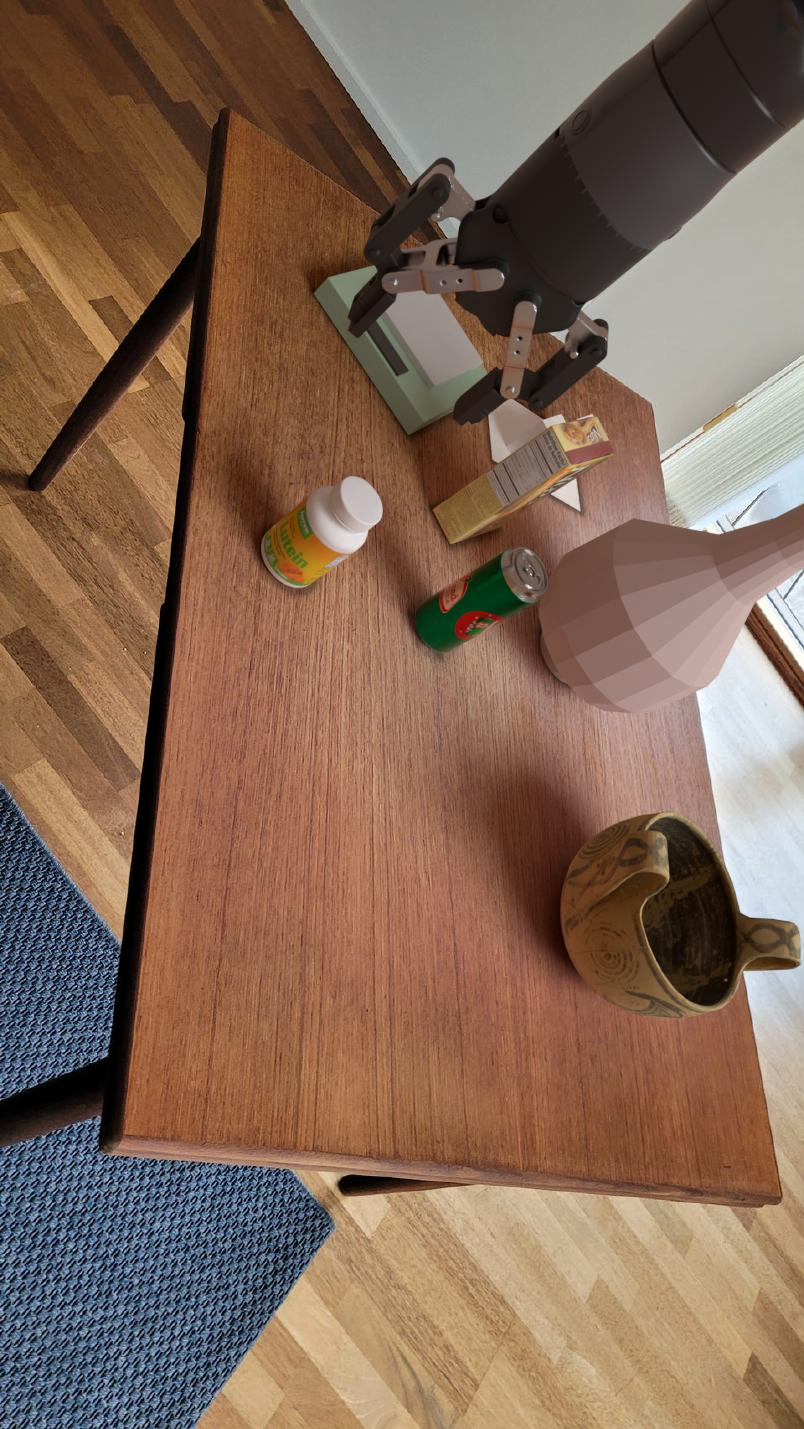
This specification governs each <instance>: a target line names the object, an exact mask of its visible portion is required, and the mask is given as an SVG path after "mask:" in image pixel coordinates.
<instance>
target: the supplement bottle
mask: <svg viewBox="0 0 804 1429" xmlns="http://www.w3.org/2000/svg"><path fill="white" fill-rule="evenodd" d="M383 511H384V510H383V503H382V500H381V498H380V496H379V494H378V492H377V491H376V489H375V488H374V487H373V486H372V485H371V484H370V483H369V482H368V481H367V480H365V479H364V478H362V477H359V476H356V475H349V476H346V477H344V478H343V479H342V480H341V481H339V482H337V483H336V484H335V485H324V486H321V487H319V488H317V489H315V490H314V491H313V492H311V493H310V494H309V495H308V496H307V497H305V498H304V499H303V500H302V501H301V502H300V503H298V504H297V505H296V506H295V507H294V508H293V509H292V510H290V511H289V512H288V513H287V514H286V515H284V516H283V517H282V518H281V519H280V520H278V521H277V522H275V524H273V526H271V527H270V528H269V529H268V530H267V531H266V532H265V534H264V536H263V537H262V540H261V544H260V552H261V557H262V560H263V563H264V565H265V566H266V568H267V570H268V571H269V573H270V574H271V575H272V576H273V577H274V578H275V579H276V580H277V581H279V582H280V583H282V584H283V585H285V586H288V587H291V588H295V589H301V588H305V587H308V586H310V585H311V584H313V583H315V582H316V581H317V580H319V579H320V578H321V577H323V576H324V575H325V574H327V573H328V572H329V571H331V570H332V569H333V568H335V567H336V566H337V565H339V564H340V563H342V562H343V561H345V560H346V559H347V558H349V557H350V556H351V555H353V554H354V553H355V552H357V551H358V550H359V549H360V548H361V547H362V546H363V545H364V544H365V542H366V540H367V538H368V533H369V531H370V530H371V529H372V528H373V527H374V526H376V524H378V523H379V522H380V521H381V519H382V516H383Z"/></svg>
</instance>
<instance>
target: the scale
mask: <svg viewBox="0 0 804 1429" xmlns="http://www.w3.org/2000/svg"><path fill="white" fill-rule="evenodd" d="M376 273H377V269H376V267H375V265H374V264H373V265H370V266H366V267H361V268H358V269H355V270H351V271H346V272H343V273H339V274H335V275H332V276H328V277H327V278H326V279H325V280H323V282H322V283H321V284H320V285H319V286H318V288H316V290H314V292H313V295H314V297H315V298H316V300H317V301H318V303H319V304H320V306H321V307H322V309H323V310H324V312H325V313H326V314H327V316H328V318H329V319H330V321H331V322H332V323H333V326H334V327H335V328H336V330H337V332H338V333H339V334H340V336H341V337H342V339H343V340H344V342H345V343H346V345H347V346H348V348H349V349H350V350H351V352H352V353H353V355H354V357H355V358H356V360H357V361H358V363H359V364H360V365H361V367H362V369H363V371H365V373H366V374H367V377H368V378H369V380H371V382H372V384H374V386H375V388H376V389H377V391H378V393H379V394H380V396H381V397H382V399H383V400H384V401H385V403H386V405H387V406H388V408H389V409H390V410H391V412H392V413H393V415H394V416H395V418H396V419H397V421H398V422H399V424H400V425H401V427H402V428H403V429H404V431H405V433H406V434H407V436H410V435H412V434H414V433H415V432H417V431H419V430H421V429H424V428H425V427H427V426H429V425H431V424H432V423H434V422H436V421H437V420H440V419H441V418H443V417H445V416H448V415H449V414H451V413H453V411H454V406H455V403H456V401H457V400H458V398H459V397H460V396H461V395H463V394H464V393H465V392H466V391H467V390H469V389H470V388H471V387H472V386H473V385H475V384H476V383H477V382H478V381H479V380H481V379H482V378H483V377H484V376H485V375H487V374H488V373H489V372H488V371H487V369H486V368H485V366H484V364H483V363H484V360H483V358H482V357H481V356H480V354H479V353H478V351H477V349H476V347H475V346H474V345H473V343H472V342H471V340H470V339H469V337H468V335H467V334H466V332H465V331H464V329H463V328H462V326H461V324H460V322H458V320H457V318H456V317H455V315H454V314H453V313H452V310H451V309H450V308H449V306H448V305H447V303H446V302H445V299H444V298H443V297H442V295H441V294H432V295H429V294H426V293H425V292H424V291H414V292H405V293H397V297H396V300H395V302H394V303H393V304H392V305H391V306H390V307H389V308H388V309H387V310H386V311H385V312H384V313H383V314H382V315H381V316H380V317H379V318H378V319H377V320H376V321H375V322H374V323H373V324H372V325H371V326H370V327H369V328H368V329H367V330H366V331H365V332H364V333H363V334H362V335H361V336H360V337H359V338H356V337H355V336H354V335H352V334H351V333H350V332H349V331H348V328H349V325H350V320H349V319H348V318H347V317H348V314H349V311H350V308H351V305H352V302H353V299H354V296H355V295H356V294H357V293H358V292H359V291H360V290H361V289H362V288H363V286H365V284H366V283H367V282H368V281H369V280H370V279H371V278H372V277H373V276H374V275H375V274H376Z"/></svg>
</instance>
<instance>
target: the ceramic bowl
mask: <svg viewBox="0 0 804 1429" xmlns="http://www.w3.org/2000/svg"><path fill="white" fill-rule="evenodd" d="M559 903H560V904H559V905H560V906H559V907H560V908H559V909H560V910H559V920H560V921H559V922H560V928H561V935H562V940H563V942H564V943H563V944H564V946H565V948H566V951H567V954H568V956H569V959H570V961H571V963H572V965H573V967H574V969H575V971H576V972H577V973H578V975H579V976H580V978H581V979H582V980H583V981H584V983H585V984H586V985H587V986H589V987H590V989H591V990H592V991H593V992H595V994H597V995H598V996H599V997H601V998H602V999H604V1000H605V1001H606V1002H607V1003H609V1004H611V1005H612V1006H614V1007H615V1008H618V1009H620V1010H622V1011H625V1012H626V1013H630V1014H632V1015H633V1014H634V1015H636V1016H640V1017H646V1018H651V1019H673V1020H675V1019H676V1020H677V1019H678V1020H680V1019H685V1018H690V1017H696V1016H700V1015H705V1014H708V1013H711V1012H716V1011H719V1010H721V1009H723V1008H725V1007H726V1006H727V1005H728V1004H729V1003H730V1002H731V1000H732V999H733V998H734V997H735V994H736V992H737V991H738V988H739V986H740V983H741V977H742V974H743V972H767V971H791V970H795V969H797V968H798V967H800V966H801V965H802V951H801V950H802V948H801V947H802V945H801V944H802V941H801V933H800V929H799V926H798V925H797V924H796V923H795V922H793V921H789V920H782V919H777V918H768V917H767V918H766V917H750V916H749V915H747V914H744V913H743V912H741V909H740V904H739V900H738V897H737V893H736V889H735V885H734V882H733V880H732V878H731V875H730V873H729V870H728V868H727V866H726V863H725V862H724V859H723V857H722V855H721V853H720V851H719V850H718V848H717V847H716V845H715V843H714V842H713V840H712V839H711V838H710V837H709V836H708V835H707V833H706V832H705V830H704V829H703V828H702V827H701V826H700V825H699V824H698V823H697V822H695V821H694V820H693V819H692V818H690V817H689V816H687V815H686V814H683V813H681V812H678V811H673V810H670V811H669V810H668V811H661V812H653V813H646V814H640V815H637V816H633V817H630V818H627V819H623V820H621V821H618V822H615V823H614V824H612V825H610V826H608V827H606V828H604V829H602V830H601V831H599V832H598V833H597V834H595V835H594V836H592V837H591V838H590V839H589V840H587V842H586V843H584V844H583V846H582V847H580V849H579V850H578V851H577V853H576V855H575V856H574V858H573V859H572V860H571V863H570V864H569V867H568V869H567V872H566V875H565V878H564V881H563V885H562V889H561V895H560V902H559Z"/></svg>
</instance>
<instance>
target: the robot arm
mask: <svg viewBox="0 0 804 1429" xmlns="http://www.w3.org/2000/svg"><path fill="white" fill-rule="evenodd" d="M803 120H804V0H689V2H687V4H686V5H685V6H684V7H682V9H680V11H679V12H677V14H675V16H674V17H672V19H671V20H669V22H668V23H667V24H666V25H665V26H664V27H663V28H661V30H660V31H659V32H658V33H657V34H656V35H655V37H654V38H653V39H651V40H650V41H649V42H648V43H647V44H646V45H645V46H643V48H641V49H640V50H639V51H638V52H636V53H635V54H634V55H632V56H631V57H630V58H628V60H626V61H625V62H624V63H622V64H621V65H619V67H618V68H617V69H615V70H613V72H611V74H609V76H607V77H606V78H605V79H604V80H603V81H601V83H600V84H599V85H598V86H597V87H596V88H595V89H594V90H593V91H592V92H591V93H590V94H589V95H588V96H587V97H586V98H585V99H584V100H583V101H582V102H581V103H580V104H579V105H578V106H577V107H576V108H575V109H574V111H573V112H572V113H570V115H569V116H568V117H566V119H564V121H563V122H562V123H561V124H560V125H559V126H557V128H555V130H553V132H552V133H551V134H550V135H549V136H548V137H547V138H546V139H545V140H544V141H542V143H541V144H540V145H539V146H538V147H537V148H536V149H535V150H534V151H533V152H532V153H531V154H530V155H529V156H528V157H527V159H525V161H523V162H522V163H521V164H520V165H519V166H518V168H517V169H516V170H514V172H513V173H512V174H511V175H510V176H509V177H508V178H507V179H506V180H505V181H504V182H503V183H502V184H501V185H500V186H499V187H498V188H497V190H495V191H494V192H493V193H491V194H490V195H488V196H486V197H484V198H479V199H476V200H475V199H474V198H473V197H472V196H471V194H469V192H468V191H467V190H466V189H465V188H464V187H463V185H462V184H461V183H460V182H459V181H458V179H456V177H455V174H456V167H455V163H454V162H453V161H452V160H451V159H450V158H448V157H444V156H443V157H439V158H437V159H436V160H434V161H433V163H431V165H429V166H428V168H426V170H424V172H422V173H421V175H420V176H418V177H417V178H416V179H415V180H414V181H413V182H412V183H411V184H410V185H409V186H408V187H407V188H406V189H405V190H404V191H403V192H402V193H401V194H400V195H398V197H397V198H396V199H395V200H394V201H393V202H392V203H391V204H390V205H389V206H388V207H387V208H386V209H385V210H384V211H383V212H382V213H381V214H380V215H378V217H377V218H376V219H375V220H373V222H372V224H371V227H370V229H369V230H370V231H369V235H368V238H367V241H366V243H365V245H364V248H363V256H364V258H365V259H366V261H367V262H368V263H371V264H373V265H375V267H376V269H377V273H376V274H375V275H374V276H373V277H372V278H371V279H370V280H369V281H368V282H367V283H366V284H365V286H363V288H362V289H361V290H360V291H359V292H358V293H357V294H356V295H355V296H354V299H353V302H352V305H351V308H350V311H349V314H348V317H347V318H348V319H349V320H350V325H349V328H348V331H349V332H350V333H351V334H352V335H354V336H355V337H356V338H359V337H360V336H361V335H362V334H363V333H364V332H365V331H366V330H367V329H368V328H369V327H370V326H371V325H372V324H373V323H374V322H375V321H376V320H377V319H378V318H379V317H380V316H381V315H382V314H383V313H384V312H385V311H386V310H387V309H388V308H389V307H390V306H391V305H392V304H393V303H394V302H395V300H396V297H397V293H405V292H414V291H424V292H425V293H426V294H429V295H432V294H440V295H441V294H449V293H450V294H451V293H454V296H455V298H454V301H455V302H456V303H457V304H458V305H459V306H460V307H461V309H463V310H464V311H466V312H468V313H470V314H472V315H473V316H475V317H476V318H477V319H478V321H479V322H480V324H481V325H482V327H483V328H484V330H485V331H486V332H488V334H490V335H491V337H493V338H494V337H495V336H497V335H498V336H500V337H504V338H508V341H507V344H506V352H505V355H504V356H505V357H504V362H503V367H502V368H499V367H498V366H497V365H496V366H495V367H493V369H490V371H489V372H488V374H487V375H485V376H484V377H483V378H482V379H481V380H479V381H478V382H477V383H476V384H475V385H473V386H472V387H471V388H470V389H469V390H467V391H466V392H465V393H464V394H463V395H461V396H460V397H459V398H458V400H457V401H456V403H455V406H454V411H452V416H451V419H452V421H454V422H455V423H456V424H457V425H459V426H460V427H463V426H465V425H466V424H467V423H470V425H475V424H478V423H480V422H482V421H483V420H484V419H486V417H489V416H488V415H489V414H490V413H491V412H493V411H494V410H495V409H497V408H498V407H499V406H500V405H502V404H503V403H504V402H505V401H507V400H509V399H513V400H515V399H517V400H520V401H523V402H525V403H527V406H528V408H529V410H531V411H532V412H533V411H534V412H542V411H545V409H547V408H549V407H550V406H551V405H552V404H553V403H554V402H555V401H556V400H558V399H559V398H560V397H561V396H563V394H565V393H566V392H567V391H569V389H571V388H572V387H573V386H574V385H575V384H576V383H578V382H579V381H580V380H581V379H583V378H584V377H585V376H586V375H587V374H588V373H590V372H591V371H592V370H593V369H594V368H595V367H596V366H598V365H599V364H600V363H601V362H603V360H605V359H606V358H607V356H608V352H609V351H608V350H609V347H608V346H609V330H610V327H609V323H608V321H607V320H605V319H603V318H595V319H592V318H590V317H589V316H588V315H587V313H585V312H584V311H583V310H582V309H583V307H584V306H585V305H586V304H587V303H588V302H590V301H592V300H594V299H596V298H597V297H599V295H600V294H602V293H603V292H604V291H605V290H607V289H608V288H609V287H611V285H613V284H614V283H615V282H616V281H617V280H619V279H620V278H621V277H622V276H624V275H625V274H626V273H627V272H629V271H630V270H631V269H632V268H633V267H635V266H636V265H637V264H638V263H640V262H641V261H642V260H643V259H644V258H646V257H647V256H649V254H651V253H652V252H653V251H654V250H655V249H656V248H658V247H659V246H660V245H662V244H663V243H664V242H666V241H668V240H670V239H672V238H673V237H674V236H676V235H677V234H678V233H679V232H680V231H681V230H682V228H683V226H685V225H686V224H688V222H690V221H691V220H692V219H694V217H696V216H697V215H698V214H699V213H701V211H702V210H703V209H705V207H706V206H707V205H708V204H709V203H710V202H711V201H713V199H714V198H716V196H717V195H718V194H719V193H720V191H721V190H722V189H723V188H724V187H725V186H727V184H728V183H729V182H731V180H734V178H735V177H736V176H737V175H738V174H739V173H740V172H741V171H743V170H744V169H745V168H746V167H748V166H749V165H750V164H751V163H752V162H754V161H755V160H756V159H757V158H758V157H760V156H761V155H762V154H763V153H764V152H766V151H767V150H768V149H770V147H772V146H773V145H774V144H775V143H777V142H778V141H779V140H780V139H781V138H783V137H784V136H785V135H786V134H787V133H789V132H790V131H791V130H792V129H794V128H795V127H796V126H798V125H799V124H800V123H801V122H802V121H803ZM448 218H454V219H457V220H458V221H459V222H460V223H459V225H458V231H457V236H456V237H448V238H440V239H435V240H432V241H429V242H428V243H427V244H425V245H422V246H413V247H406V248H401V247H400V246H401V245H402V244H403V243H404V242H405V241H406V240H408V239H409V237H410V236H411V235H412V234H414V233H415V232H416V231H417V230H418V229H419V228H420V227H421V226H422V225H423V224H424V223H425V222H426V221H427V220H430V221H431V222H432V223H440V222H442V221H445V220H446V219H448ZM566 330H567V333H566V334H565V337H564V346H562V347H561V348H560V349H559V350H557V351H556V352H555V354H553V355H552V356H551V357H550V358H549V359H548V360H547V361H546V362H544V363H543V364H542V365H541V366H540V367H539V368H538V369H536V371H534V370H532V369H530V368H528V367H527V366H526V365H527V361H528V356H529V352H530V351H529V350H530V346H531V342H532V337H533V335H542V334H550V333H558V332H559V333H560V332H563V331H566Z"/></svg>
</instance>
